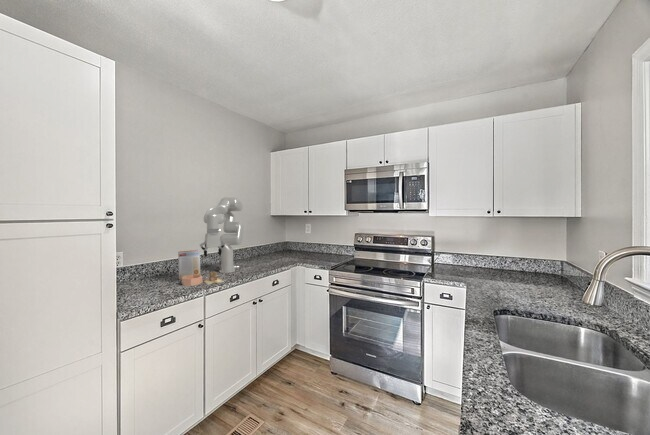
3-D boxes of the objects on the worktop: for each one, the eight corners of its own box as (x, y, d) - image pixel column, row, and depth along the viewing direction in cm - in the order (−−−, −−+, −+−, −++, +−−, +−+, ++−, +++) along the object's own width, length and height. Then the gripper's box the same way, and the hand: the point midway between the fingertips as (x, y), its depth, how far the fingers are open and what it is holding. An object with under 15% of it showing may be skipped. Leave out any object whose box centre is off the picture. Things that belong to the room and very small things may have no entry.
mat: (218, 279, 198) (218, 278, 198) (224, 282, 190) (224, 281, 189) (202, 282, 190) (202, 281, 190) (207, 285, 182) (207, 284, 182)
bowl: (198, 280, 194) (198, 273, 194) (204, 284, 185) (203, 276, 185) (180, 283, 186) (180, 276, 186) (185, 287, 177) (185, 279, 177)
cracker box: (198, 276, 208) (198, 249, 207) (200, 277, 203) (200, 250, 203) (178, 279, 199) (178, 251, 199) (180, 280, 195) (179, 252, 194)
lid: (218, 278, 198) (218, 269, 198) (224, 281, 189) (224, 272, 189) (201, 281, 190) (201, 272, 190) (207, 284, 182) (207, 275, 181)
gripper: (222, 230, 197) (223, 253, 198) (198, 231, 186) (198, 256, 186) (226, 231, 192) (227, 254, 192) (201, 232, 180) (201, 257, 181)
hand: (212, 255), depth 189 cm, fingers open, 9 cm apart
